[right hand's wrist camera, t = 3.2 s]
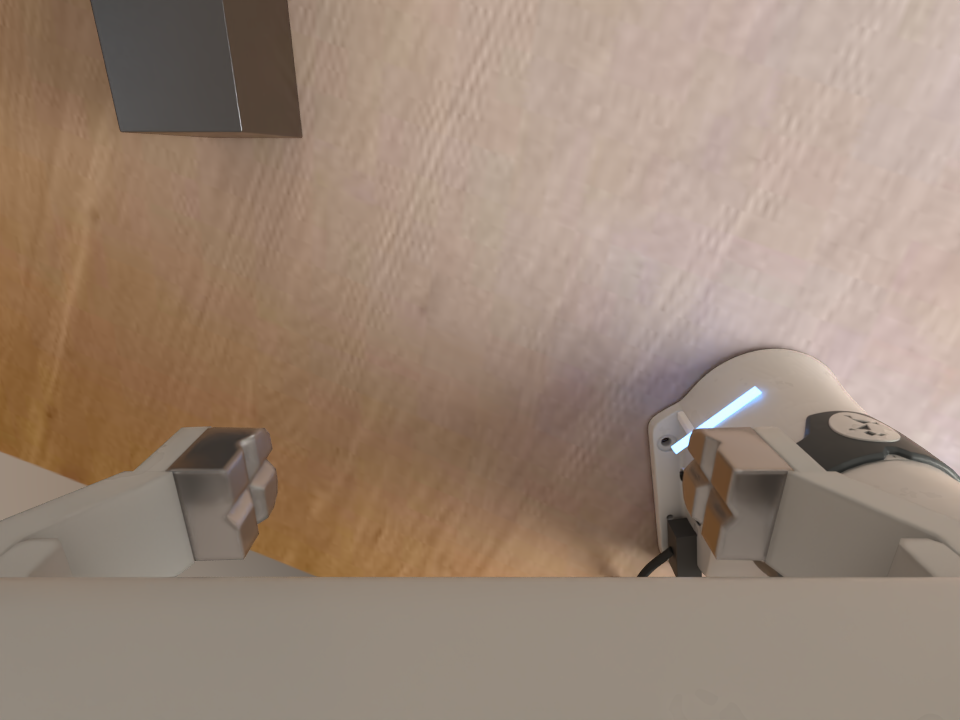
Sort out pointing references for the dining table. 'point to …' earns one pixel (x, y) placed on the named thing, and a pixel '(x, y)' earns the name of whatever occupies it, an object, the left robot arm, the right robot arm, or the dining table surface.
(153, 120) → the box
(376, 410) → the dining table surface
